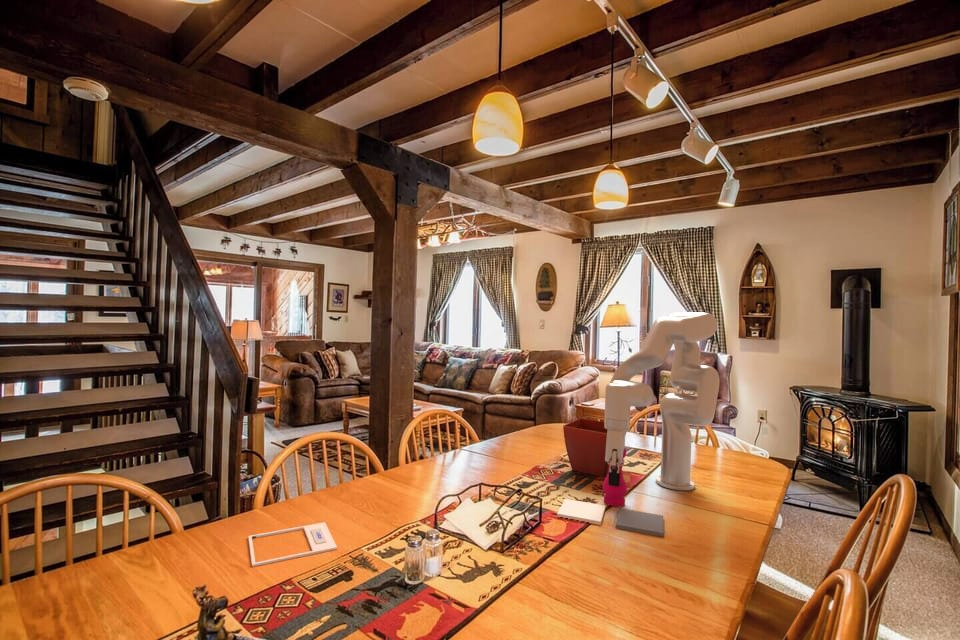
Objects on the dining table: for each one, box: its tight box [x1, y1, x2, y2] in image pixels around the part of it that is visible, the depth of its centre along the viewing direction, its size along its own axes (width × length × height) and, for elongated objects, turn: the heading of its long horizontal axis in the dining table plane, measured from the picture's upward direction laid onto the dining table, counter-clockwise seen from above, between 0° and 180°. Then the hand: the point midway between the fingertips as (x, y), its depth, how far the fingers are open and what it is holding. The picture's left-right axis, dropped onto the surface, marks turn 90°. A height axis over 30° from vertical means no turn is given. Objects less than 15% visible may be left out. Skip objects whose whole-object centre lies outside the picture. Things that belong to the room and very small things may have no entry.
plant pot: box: [562, 417, 627, 478], centre depth 175 cm, size 19×19×17 cm
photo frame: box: [247, 521, 338, 567], centre depth 111 cm, size 15×1×18 cm
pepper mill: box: [602, 447, 628, 508], centre depth 143 cm, size 7×7×20 cm
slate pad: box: [615, 507, 665, 538], centre depth 129 cm, size 12×12×1 cm
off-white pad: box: [556, 498, 606, 526], centre depth 135 cm, size 12×12×1 cm
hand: (615, 481), depth 143 cm, fingers closed on pepper mill, 5 cm apart
